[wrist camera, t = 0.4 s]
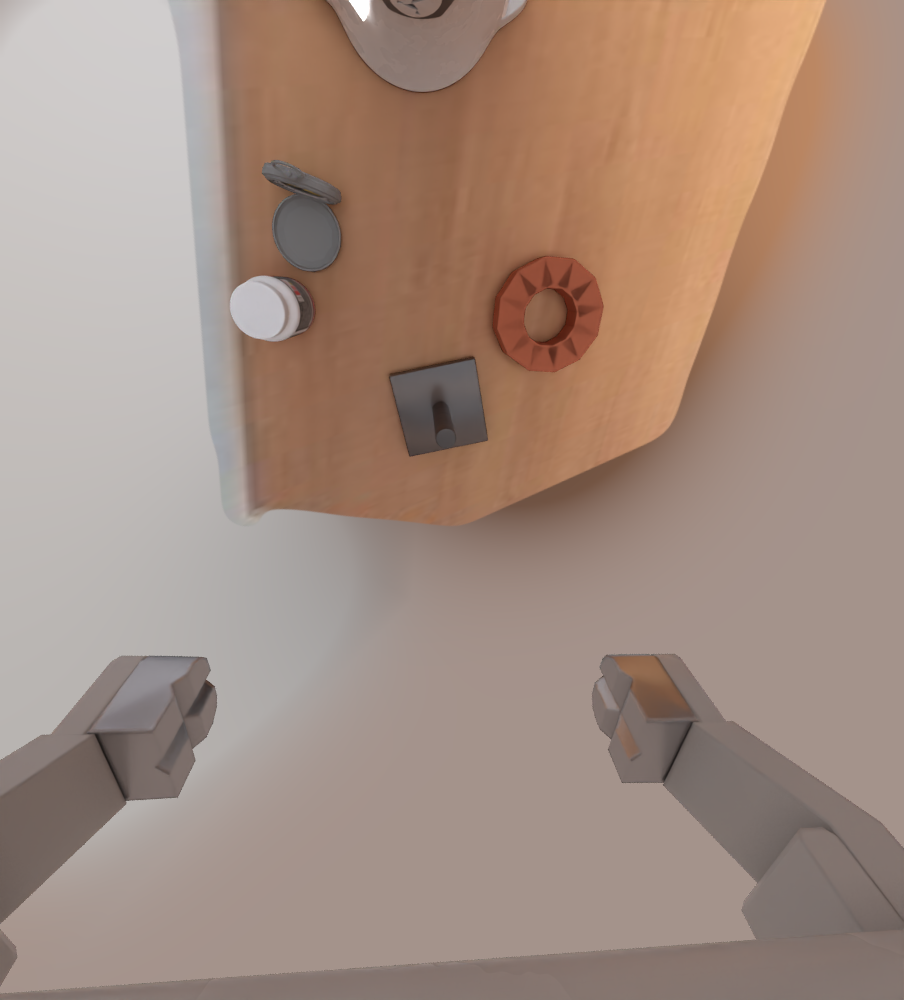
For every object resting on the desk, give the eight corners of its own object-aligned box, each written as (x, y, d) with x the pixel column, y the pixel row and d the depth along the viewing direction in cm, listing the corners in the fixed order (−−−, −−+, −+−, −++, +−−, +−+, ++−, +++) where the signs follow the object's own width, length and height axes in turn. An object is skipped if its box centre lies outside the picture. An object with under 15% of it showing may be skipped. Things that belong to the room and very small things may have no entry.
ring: (499, 254, 45) (505, 252, 42) (601, 263, 46) (612, 262, 43) (488, 363, 50) (492, 368, 47) (580, 369, 51) (589, 374, 48)
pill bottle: (284, 264, 44) (250, 257, 35) (327, 307, 46) (305, 311, 37) (250, 305, 46) (210, 309, 37) (293, 346, 48) (265, 358, 39)
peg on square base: (389, 374, 50) (381, 398, 39) (473, 356, 50) (489, 375, 38) (409, 452, 54) (407, 494, 43) (486, 436, 54) (504, 475, 43)
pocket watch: (294, 280, 45) (263, 278, 36) (253, 188, 41) (207, 159, 32) (366, 254, 44) (353, 244, 35) (331, 157, 41) (307, 119, 32)
